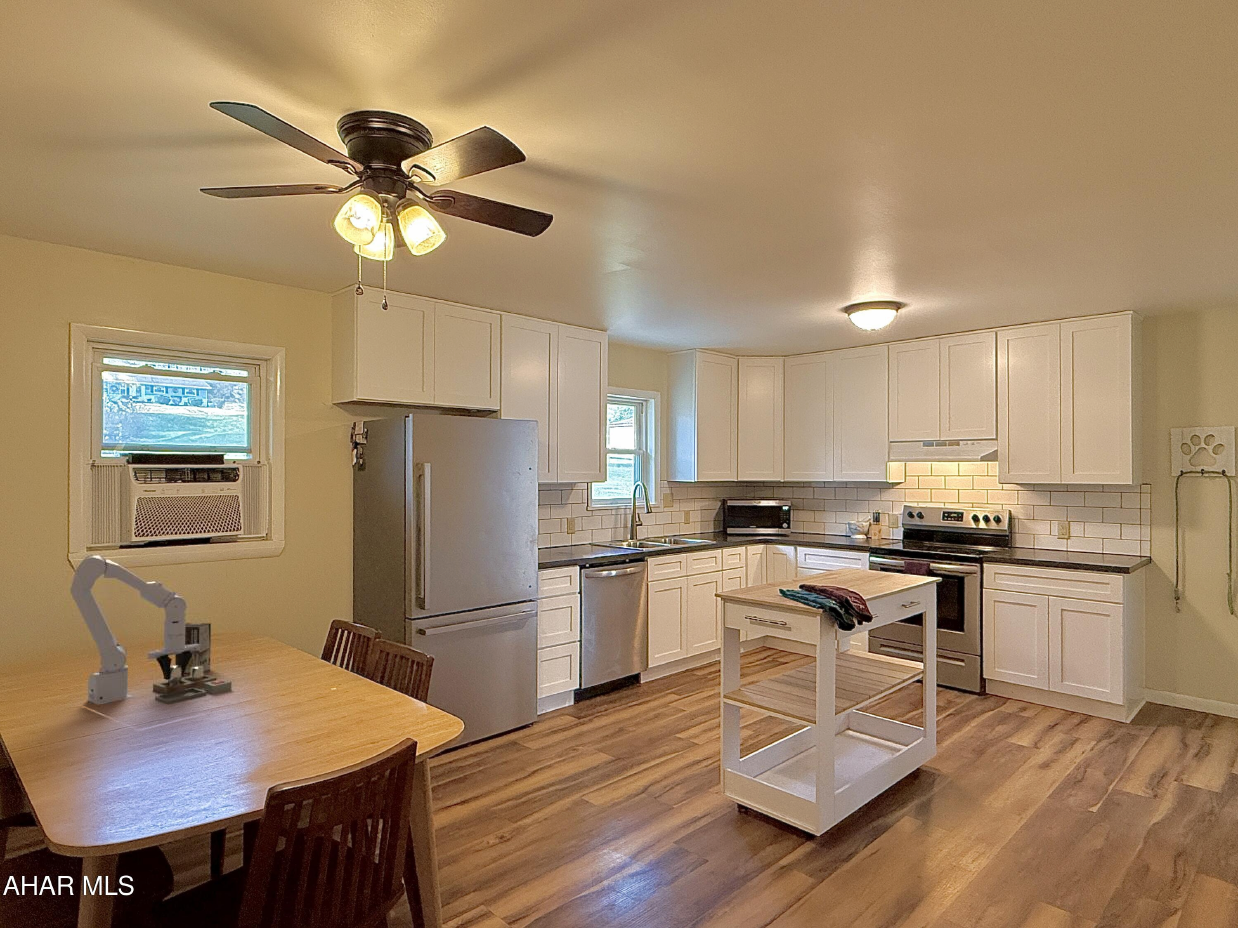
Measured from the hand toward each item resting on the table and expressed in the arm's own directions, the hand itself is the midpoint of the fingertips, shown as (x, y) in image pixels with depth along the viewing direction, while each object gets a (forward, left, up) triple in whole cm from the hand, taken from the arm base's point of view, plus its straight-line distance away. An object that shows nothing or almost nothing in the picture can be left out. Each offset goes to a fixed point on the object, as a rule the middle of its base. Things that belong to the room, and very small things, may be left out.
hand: (173, 677), depth 230 cm
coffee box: (+15, +20, -4) cm, 26 cm away
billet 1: (0, 0, -2) cm, 3 cm away
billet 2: (+7, 0, -4) cm, 8 cm away
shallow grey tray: (-3, -10, -4) cm, 11 cm away
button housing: (+7, -12, -4) cm, 15 cm away
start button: (+7, -12, -3) cm, 15 cm away
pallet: (+3, 0, -4) cm, 6 cm away
